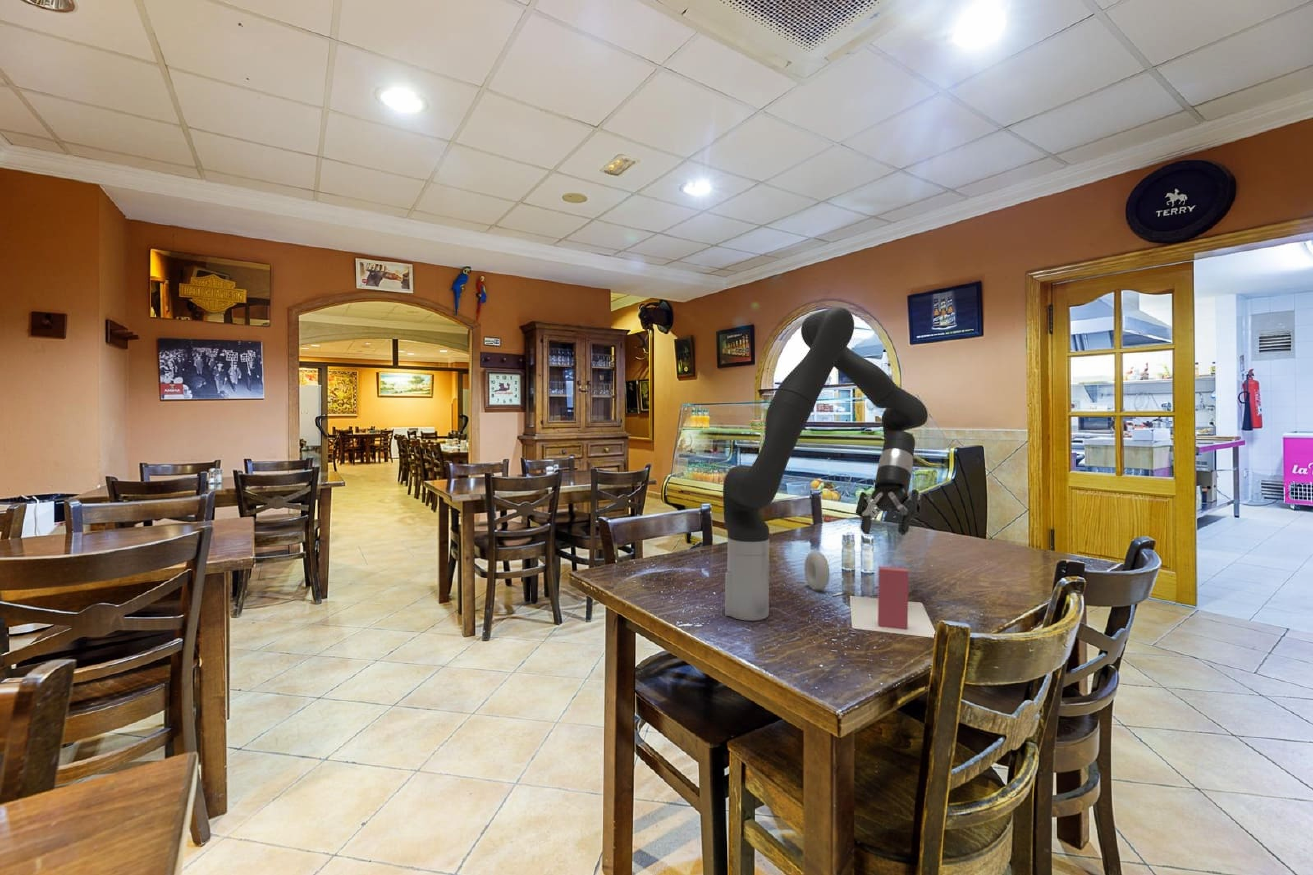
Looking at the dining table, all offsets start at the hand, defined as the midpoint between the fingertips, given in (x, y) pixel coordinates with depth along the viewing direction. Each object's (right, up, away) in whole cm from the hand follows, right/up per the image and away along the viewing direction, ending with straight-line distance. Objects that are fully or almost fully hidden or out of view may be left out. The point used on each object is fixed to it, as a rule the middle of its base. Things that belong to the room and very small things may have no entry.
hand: (883, 533), depth 123 cm
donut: (-10, -18, +16) cm, 26 cm away
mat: (0, -18, -3) cm, 18 cm away
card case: (-2, -18, -10) cm, 20 cm away
